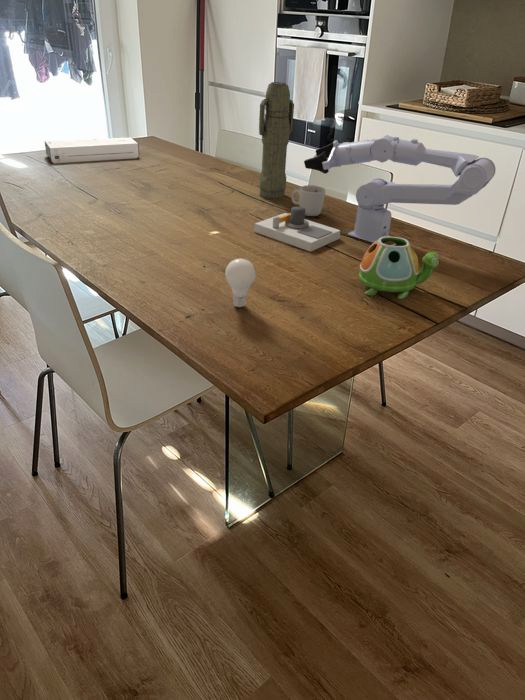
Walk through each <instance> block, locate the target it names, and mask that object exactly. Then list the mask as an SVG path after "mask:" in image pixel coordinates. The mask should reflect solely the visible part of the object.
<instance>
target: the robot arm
mask: <svg viewBox="0 0 525 700" xmlns="http://www.w3.org/2000/svg"><path fill="white" fill-rule="evenodd" d="M315 154H316V156H314V157H310V158H308V159H305V160H304V161H303V164H304V167H305V169H308V170H315V171H318V172H320V173H323V174H324V175H325V174H328V173H329V170H330V169H332V168H337V167H339V168H340V167H342V166H350V165H357V164H365V163H370V162H372V161H377V162H380V163H385V162H387V161H388V160H389V161H391V162H393V163H398V164H404V165H410V166H418V165H420V164H421V163H427V164H431V165H435V166H438V167H444V168H449V169H451V170H452V172H453V175H454V176H455V177H456V178H458V179H457V180H456V181H455V182H454V183H453V184H428V183H427V184H424V183H423V184H421V183H419V184H418V183H395V182H394V181H387V180H385V179H383V178H380V177H378V178H374V179H372V180H371V181H370V182H367V183H366V184H363V185H360V186H359V187H358V188H357V190H356V192H355V199H356V202H357V210H356V217H355V223H354V230H353V231H350V232H348V233H347V235H348V236H350V237H354V238H357V239H361V240H362V241H366V242H370V243H372V244H373V243H374V242H376V241H377V240H378V239H379V238H381V237H390V235H389V234H390V226H391V222H392V212H391V211H390V210H388V209H386V207H384V206H385V205H386V204H419V205H420V204H422V205H446V206H447V205H448V206H449V205H453V206H455V205H459V204H461V203H463V202H464V201H467V200H468V199H470V198H472V197H473V196H474V195H476V194H478V193H479V192H480V191H481V190H482V189H484V188H485V187H487V185H488V184H489V183H490V182H491V180H492V179H493V178H494V176H495V174H496V169H497V168H496V165H495V163H494V162H493V160H492V159H490V158H489V157H488V158H487V157H480V156H479V155H476V154H470V153H462V152H457V151H456V152H454V151H446V150H440V149H439V150H438V149H431V148H426V147H425V144H423V142H419V139H417V138H416V139H415V138H412V139H411V140H407V139H401V138H400V137H399V136H394V137H393V136H391V135H387V134H386V135H385V136H382V137H381V138H376V139H375V138H373V139H365V140H357V141H352V142H349V141H346V142H345V141H344V142H342V143H341V142H340V140H339V138H336V139H335V140H334V141H333V142H331V143H329V144H327V145H325V146H323V147H320V148H317V149H316V150H315Z"/></svg>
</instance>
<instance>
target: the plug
mask: <svg viewBox="0 0 525 700" xmlns="http://www.w3.org/2000/svg"><path fill="white" fill-rule="evenodd" d="M290 213H291V216H290V220H287V221H285V225H286V226H287V227H290V228H294V229H298V230H299V229H304V228H306V227H308V226H309V222H308V221H306V220H307V219H306V220H304V219H305V217H306V215H305V208H303V207H300V206H292V207H290Z"/></svg>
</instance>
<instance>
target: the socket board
mask: <svg viewBox="0 0 525 700" xmlns="http://www.w3.org/2000/svg"><path fill="white" fill-rule="evenodd" d="M286 214H288V213H287V212H284V213H281V214H278V215H277V216H278V217H281V216H283V215H286ZM273 217H274V216H272V217H269V218H267V219H264V220H261V221H257V222H255V223H254V233H256V234H259V235H262V236H266V237H268V238H271V239H274V240H276V241H279V242H282V243H284V244H288V245H290V246H293V247H296V248H299V249H301V250H305V251H308V252H313V251H315V250H317V249H320V248H322V247H324V246H326V245H329V244H332V242H336V241H337V240H340V237H341V230H340V229H337V228H335V227H331V226H328V225H325V224H322V223H319V222H315V221H313V220H309V219H305V218H304V220H306V221H308V222H309V226H308V227H306V228H304V229H299V230H298V229H294V228H290V227H287V226H286V225H285V221H284V222H282V223H279V228H273Z"/></svg>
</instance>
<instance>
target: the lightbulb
mask: <svg viewBox="0 0 525 700" xmlns="http://www.w3.org/2000/svg"><path fill="white" fill-rule="evenodd" d="M224 275H225V276H224V277H225V280H226V282H227V283H228V285H229V286H230V288H231V293H232V295H233V301H232V302H233V306H235V307H237V308H240V309H241V308H244V307H245V306H246V304H247V303H246V300H247V294H248V290H249V289H250V287H251V285H252V284H253V283H254V281H255V279H256V269H255V266H254V265H253V263H252V262H251V261H250V260H248V259H246V258H242V257H241V258H235V259H233V260H231V261H230V262H229V263H228V264H227V266H226V268H225V272H224Z"/></svg>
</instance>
